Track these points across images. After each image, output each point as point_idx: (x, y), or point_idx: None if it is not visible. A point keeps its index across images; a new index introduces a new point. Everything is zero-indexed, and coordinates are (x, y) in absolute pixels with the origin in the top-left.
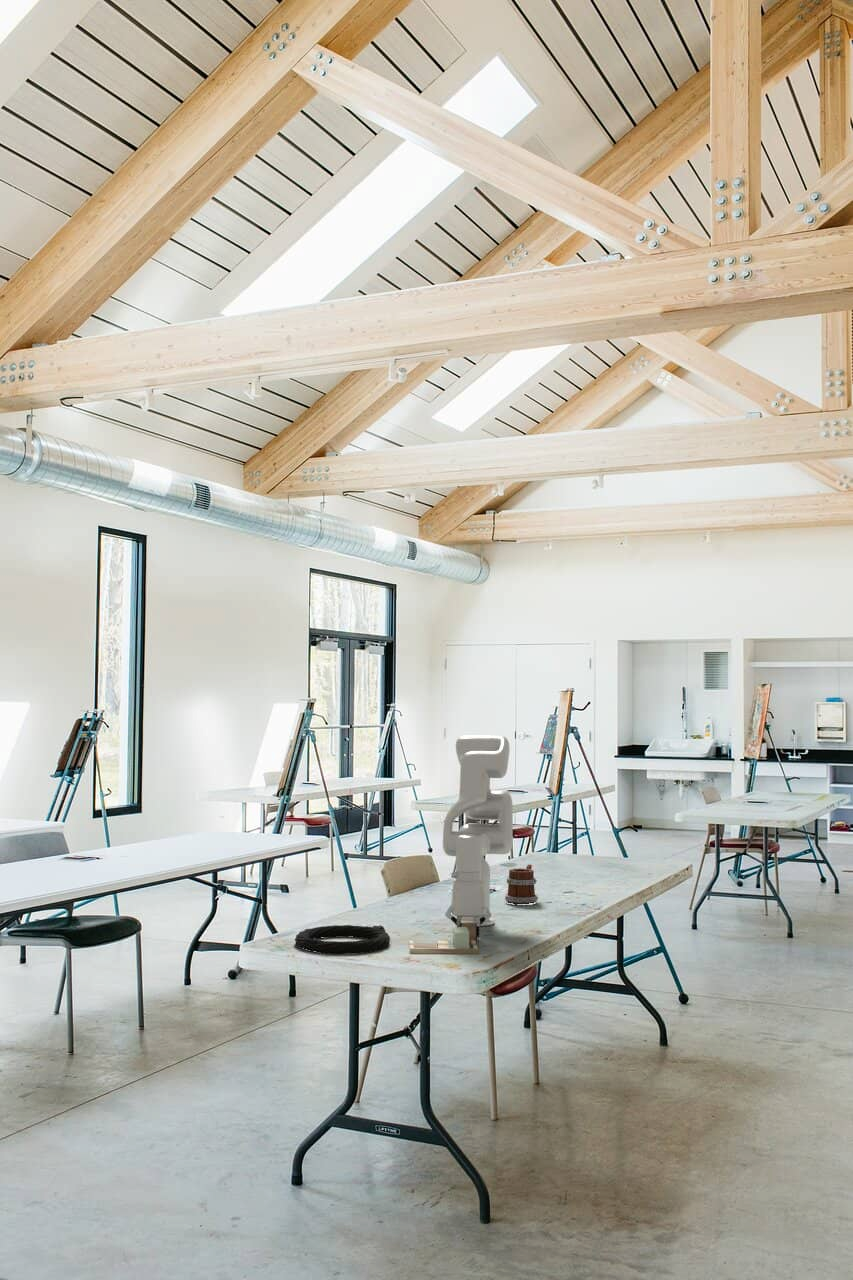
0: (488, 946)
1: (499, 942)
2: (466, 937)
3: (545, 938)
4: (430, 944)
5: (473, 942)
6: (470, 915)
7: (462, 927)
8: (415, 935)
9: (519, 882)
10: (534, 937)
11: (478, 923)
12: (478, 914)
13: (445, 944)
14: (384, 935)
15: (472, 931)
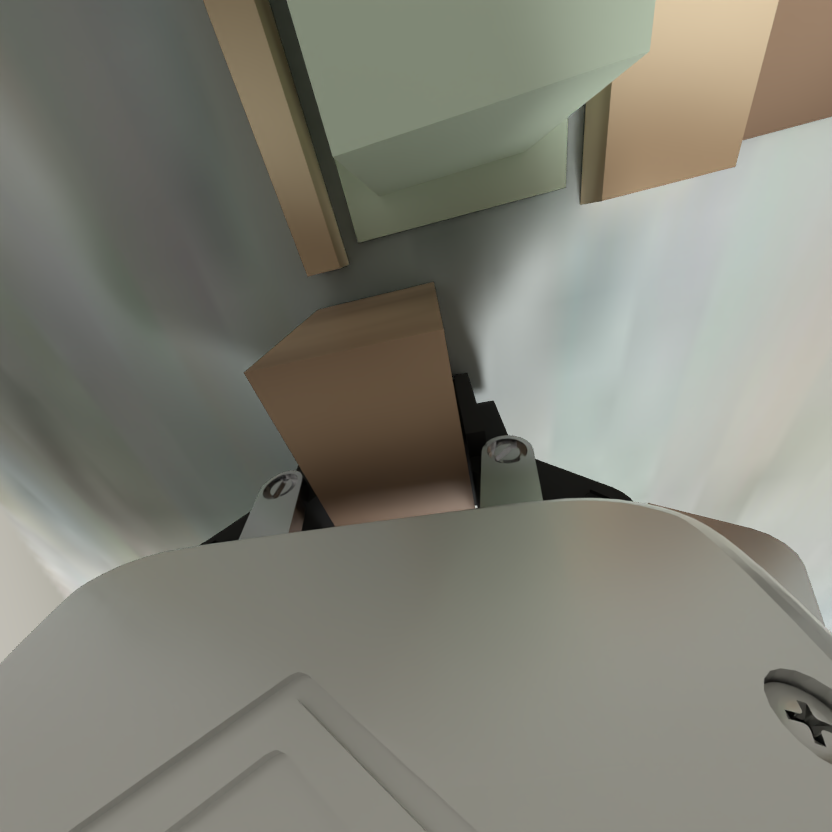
0: (156, 190)
1: (172, 390)
2: None
3: (28, 533)
4: (820, 36)
5: (262, 88)
6: (309, 532)
7: (405, 14)
8: (767, 473)
9: None
10: (91, 541)
11: (280, 499)
12: (163, 572)
13: None
14: None
15: (316, 332)
